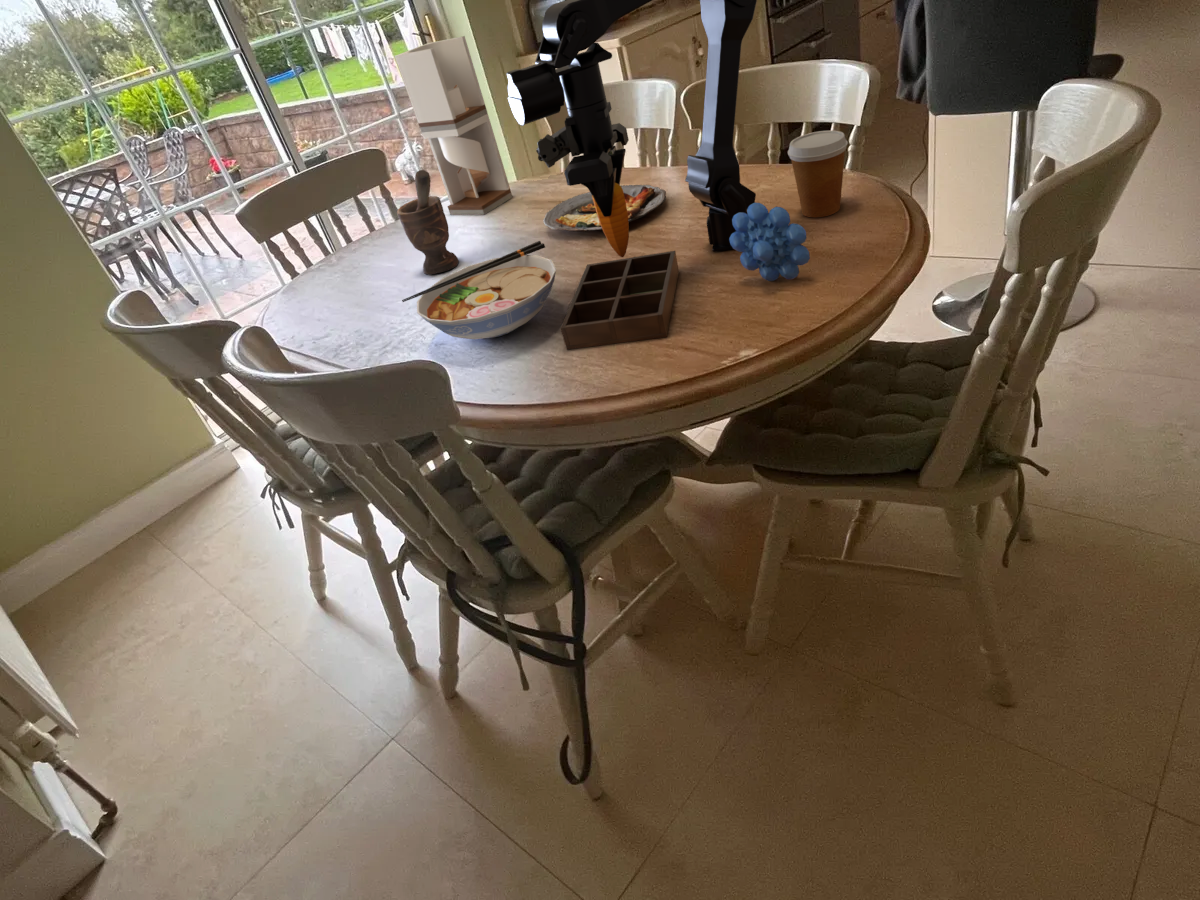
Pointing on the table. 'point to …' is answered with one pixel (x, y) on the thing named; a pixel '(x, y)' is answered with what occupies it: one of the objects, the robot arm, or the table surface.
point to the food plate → (583, 213)
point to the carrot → (616, 222)
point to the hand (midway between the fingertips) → (610, 209)
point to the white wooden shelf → (455, 124)
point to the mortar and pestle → (427, 227)
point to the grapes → (769, 242)
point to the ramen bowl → (489, 295)
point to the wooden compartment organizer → (622, 301)
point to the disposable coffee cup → (819, 171)
